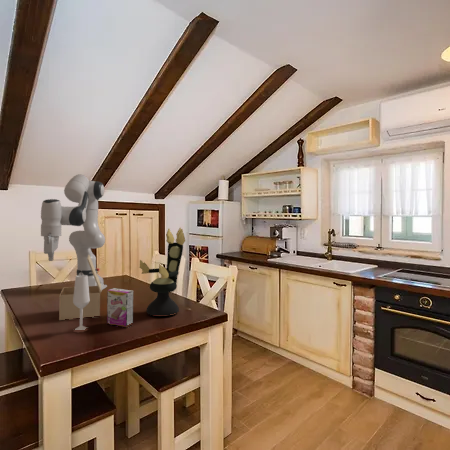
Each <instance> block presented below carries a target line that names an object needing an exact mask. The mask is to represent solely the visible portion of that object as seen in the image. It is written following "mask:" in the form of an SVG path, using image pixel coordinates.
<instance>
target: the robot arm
mask: <svg viewBox="0 0 450 450" xmlns="http://www.w3.org/2000/svg"><path fill="white" fill-rule="evenodd" d="M63 193H64V195H65V197H66V198H67V200H69V201H70V202H72V203H77V206H64V205H63V206H62V204H61V201H60V200H59V199H55V198H54V199H53V198H51V199H50V198H48V199H45V200H43V201H42V203H41V211H40V218H41V224H40V236H41V237H43V253H44V254H46V255H47V256H48V261H49V262H53V261H54V255H55V251H56V250H58V247H59V239H60V237H61V236H62V226H74V227H81V226H82V227H83V230H75V231H72V232H71V233H70V234H69V236H68V241H69V244H70V245H71V246H72V247H73V248H74V250H75V254H76V259H77V262H76V263H77V266H76V267H77V269H76V272H75V273H76V276H78V275H87V276H88V286H97V283H96V281H95V278H94V276H93V273H92V271H91V268H90V265H89V263H88V260H87V257H88V255H90V258H91V260H92V263H93V265H94V268H95V270H96V273H97V276H98V278H99V281H100V283H101V291H103V290H104V289H106V288H107V287H108V285H107V284H104V278H103V277H102V276H101V275H99V274H98V272H100V270H101V269H100V268H99V267H97V257H96V255H95V254H94V252H92V249H99V248H102V247H104V245H105V244H106V237H105V235H104V234H103V232H102V231H101V229H100V226H99V220H98V219H99V216H98V215H99V200H100V199H102V197H103V196H104V194H105V186H104V184H103V182H101V181H98V180H96V181H94V180H89V178H88V177H87V176H86V175H85V174H76V175H74V176H72V178H70V179H69V180H68V182H67V183H66V185H65V187H64V190H63ZM74 279H76V277H75V278H74Z"/></svg>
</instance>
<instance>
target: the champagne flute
mask: <svg viewBox="0 0 450 450" xmlns="http://www.w3.org/2000/svg"><path fill="white" fill-rule="evenodd" d="M75 278H76V279H75ZM75 278H74V279H75V280H74V287H75V288H74V297H73V303H74V305H75V306H77V307H78V308H80V319H79V326H77V327H76V328H74V329H75V330H85V329H86V328H88V327H86V326H85V325H83V323H84V322H83V319H84V318H83V308H84V307H85V306H86V305H87V304H88V303H89V301H90V297H89V286H88V276H87V275H78V276H77V275H75Z"/></svg>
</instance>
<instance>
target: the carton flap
mask: <svg viewBox="0 0 450 450" xmlns="http://www.w3.org/2000/svg"><path fill="white" fill-rule="evenodd" d="M87 260H88V263H89V265H90V268H91V271H92V273H93V276H94V278H95V281H96V283H97V286H98V288H99V291H100V294H101V293H102V290H101V283H100V281H99V278H98V276H97V273H98V272H97V273H96V270H95V268H94V265H93V263H92V260H91V258H90V255H88V257H87Z"/></svg>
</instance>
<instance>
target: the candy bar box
mask: <svg viewBox="0 0 450 450" xmlns="http://www.w3.org/2000/svg"><path fill="white" fill-rule="evenodd" d="M106 295H107V298H106V299H107V300H106V302H107V305H106V306H107V307H106V308H107V310H106V312H107V313H106V324H107V323H109V324H116V325H124V326H127V325H129V324H131V323H133V324H134V290H132V289H131V290H130V289H129V290H128V289H123V288H116V287H113V288H109V289H108V290H107V294H106Z"/></svg>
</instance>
